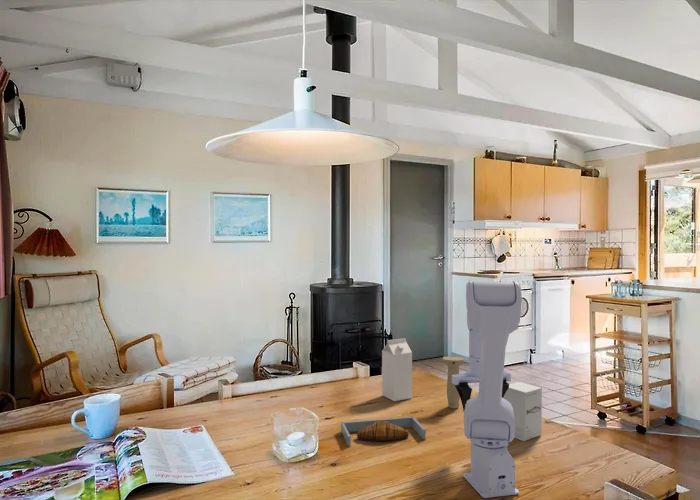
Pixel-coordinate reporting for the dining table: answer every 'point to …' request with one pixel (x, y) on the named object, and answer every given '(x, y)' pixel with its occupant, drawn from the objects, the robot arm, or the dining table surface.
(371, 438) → the croissant
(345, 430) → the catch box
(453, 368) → the handle
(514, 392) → the supplement box
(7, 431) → the dining table surface
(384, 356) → the milk carton
